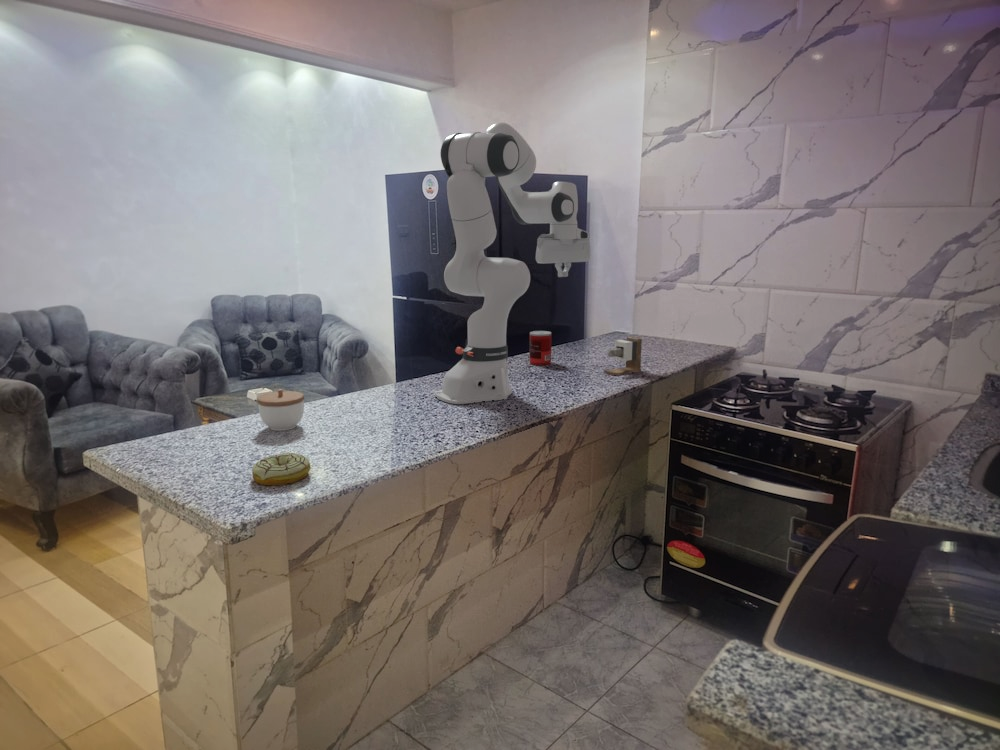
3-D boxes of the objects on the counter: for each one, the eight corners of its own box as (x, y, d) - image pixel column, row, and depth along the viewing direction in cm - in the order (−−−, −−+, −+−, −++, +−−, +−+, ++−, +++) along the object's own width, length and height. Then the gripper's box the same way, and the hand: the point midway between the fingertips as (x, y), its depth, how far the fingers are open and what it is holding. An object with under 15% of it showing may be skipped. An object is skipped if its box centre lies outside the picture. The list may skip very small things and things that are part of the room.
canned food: (551, 361, 238) (551, 330, 235) (550, 365, 230) (551, 334, 227) (530, 360, 238) (530, 330, 236) (528, 365, 231) (529, 334, 228)
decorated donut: (247, 475, 131) (245, 457, 130) (301, 464, 136) (300, 447, 135) (260, 492, 122) (258, 473, 121) (317, 480, 128) (316, 461, 127)
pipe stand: (613, 375, 214) (615, 342, 212) (603, 373, 218) (604, 340, 216) (641, 371, 220) (642, 338, 218) (630, 368, 224) (631, 336, 222)
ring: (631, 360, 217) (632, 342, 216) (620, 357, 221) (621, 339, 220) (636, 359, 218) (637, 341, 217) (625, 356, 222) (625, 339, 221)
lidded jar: (315, 424, 163) (312, 387, 161) (281, 436, 154) (278, 397, 152) (284, 418, 168) (282, 382, 166) (250, 429, 159) (246, 391, 157)
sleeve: (624, 361, 215) (625, 342, 214) (614, 358, 220) (614, 340, 218) (631, 360, 217) (632, 342, 216) (620, 357, 221) (621, 339, 220)
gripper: (543, 234, 206) (543, 278, 209) (593, 233, 217) (592, 275, 220) (531, 234, 211) (531, 277, 214) (581, 233, 222) (580, 274, 225)
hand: (562, 276), depth 217 cm, fingers closed
